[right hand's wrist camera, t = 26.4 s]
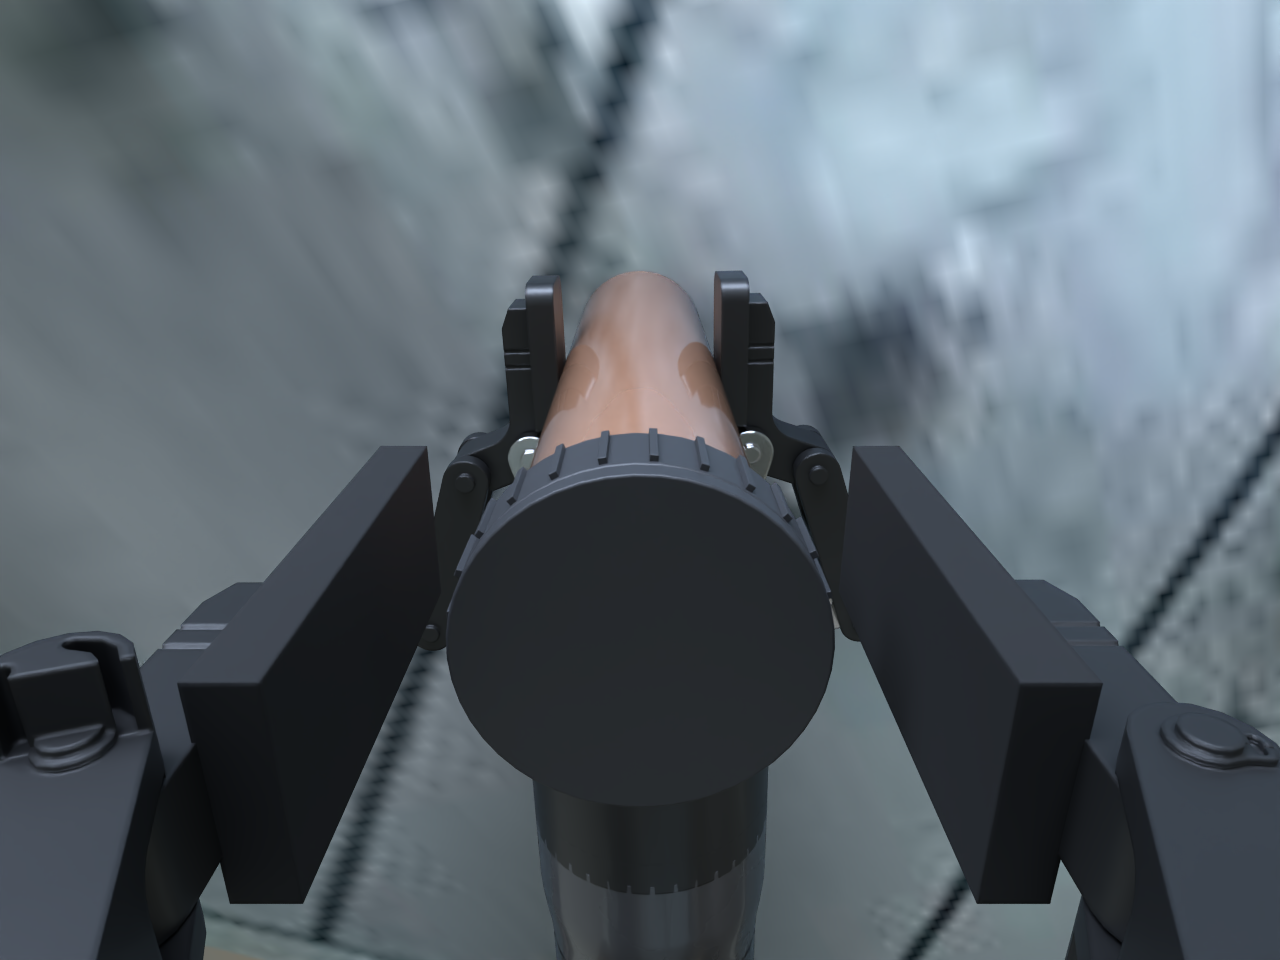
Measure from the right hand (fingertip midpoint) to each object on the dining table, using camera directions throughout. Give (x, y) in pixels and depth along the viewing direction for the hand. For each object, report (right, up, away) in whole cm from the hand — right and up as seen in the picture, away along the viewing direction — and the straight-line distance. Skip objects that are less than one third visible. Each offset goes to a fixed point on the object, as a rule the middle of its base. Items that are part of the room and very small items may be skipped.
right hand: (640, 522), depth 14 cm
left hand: (0, +6, +7) cm, 9 cm away
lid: (0, -1, -3) cm, 4 cm away
